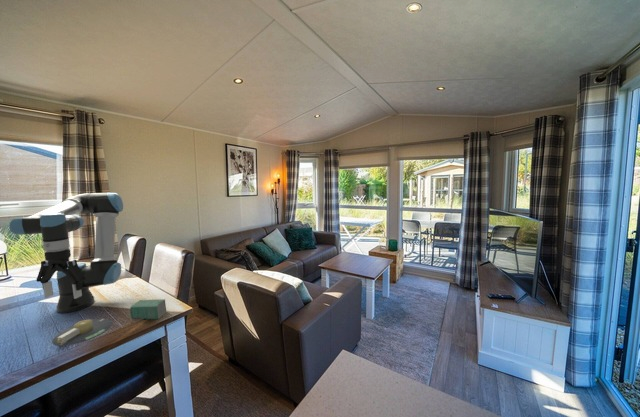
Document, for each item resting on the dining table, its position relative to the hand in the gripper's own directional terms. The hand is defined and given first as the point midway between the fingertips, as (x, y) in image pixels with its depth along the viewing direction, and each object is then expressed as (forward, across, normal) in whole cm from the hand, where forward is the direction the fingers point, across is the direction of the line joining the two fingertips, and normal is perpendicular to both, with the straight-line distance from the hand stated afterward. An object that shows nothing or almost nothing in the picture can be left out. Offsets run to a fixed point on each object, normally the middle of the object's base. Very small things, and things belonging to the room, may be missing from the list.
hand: (63, 296), depth 108 cm
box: (+20, +22, +19) cm, 36 cm away
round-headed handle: (+18, +3, 0) cm, 19 cm away
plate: (+20, +3, +4) cm, 20 cm away
